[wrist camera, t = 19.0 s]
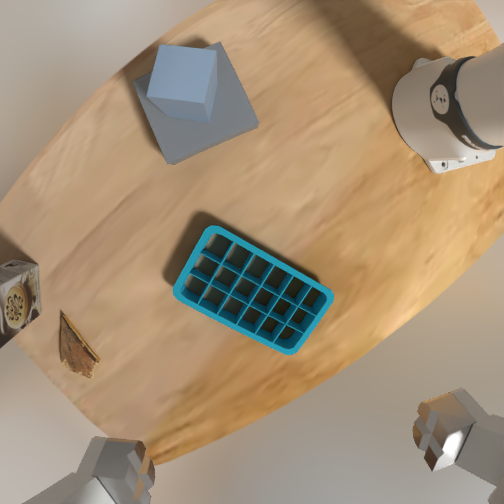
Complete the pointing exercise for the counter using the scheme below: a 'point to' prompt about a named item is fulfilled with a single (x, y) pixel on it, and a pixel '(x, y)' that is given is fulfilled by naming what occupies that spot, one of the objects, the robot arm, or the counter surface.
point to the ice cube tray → (236, 321)
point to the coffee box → (18, 297)
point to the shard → (76, 350)
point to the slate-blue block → (184, 82)
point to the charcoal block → (195, 132)
